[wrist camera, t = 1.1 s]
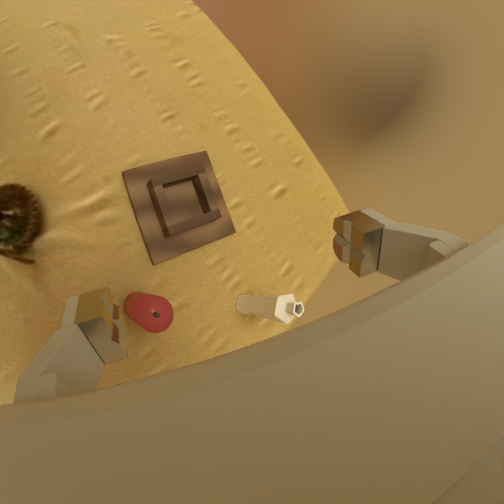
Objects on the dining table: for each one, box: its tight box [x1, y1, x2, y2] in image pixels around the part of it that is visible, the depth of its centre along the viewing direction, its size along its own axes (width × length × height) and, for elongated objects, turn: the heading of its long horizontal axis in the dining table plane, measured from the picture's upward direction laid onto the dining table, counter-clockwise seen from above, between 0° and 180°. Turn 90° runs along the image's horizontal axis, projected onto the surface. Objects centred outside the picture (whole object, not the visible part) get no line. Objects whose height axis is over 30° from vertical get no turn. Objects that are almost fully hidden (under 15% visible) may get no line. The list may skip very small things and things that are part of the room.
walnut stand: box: [122, 151, 236, 265], centre depth 47 cm, size 16×16×4 cm
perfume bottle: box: [236, 294, 304, 324], centre depth 47 cm, size 5×4×15 cm
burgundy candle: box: [124, 292, 173, 333], centre depth 38 cm, size 4×4×14 cm
